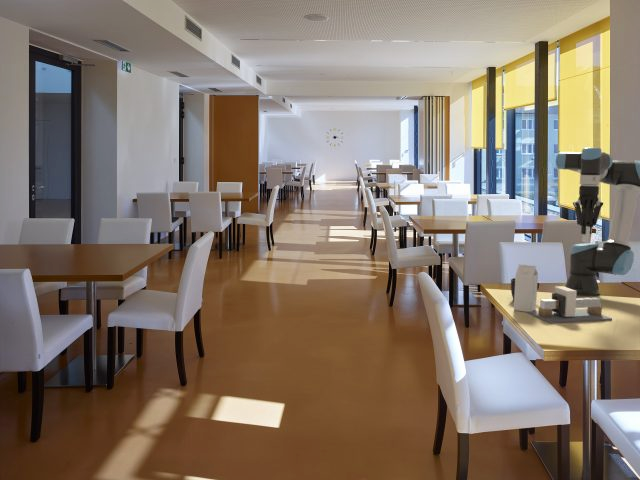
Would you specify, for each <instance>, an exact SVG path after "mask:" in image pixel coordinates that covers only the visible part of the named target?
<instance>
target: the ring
mask: <svg viewBox="0 0 640 480" xmlns="http://www.w3.org/2000/svg"><path fill="white" fill-rule="evenodd" d="M557 298H558V299H560V309H552V311H553V312H556V313H558V314H560V315H565V302H566V297H565V296H563V295H560V294H557V293H554V292H552V293H551V299H557Z"/></svg>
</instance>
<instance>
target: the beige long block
mask: <svg viewBox="0 0 640 480" xmlns="http://www.w3.org/2000/svg"><path fill="white" fill-rule="evenodd" d="M539 301H540V302H539V303H540V304H539V307H538V311H539V312H538V315H540V316H542V317H544V318H551V317H552V309H560V299H552V298H548V299H547V298H545V299H540V300H539ZM601 303H602V298H599V297H576V309H579V308H580V309H587V313H590V314H592V315H601V314H602V312H603V311H602V309H603V307H602V306H601Z"/></svg>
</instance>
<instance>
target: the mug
mask: <svg viewBox="0 0 640 480" xmlns="http://www.w3.org/2000/svg"><path fill="white" fill-rule="evenodd" d="M539 288H540V283H539V282H537V291H538V290H539ZM510 291H511V296H512V300H513V302H514V294H515V277H512V278H511V279H510Z"/></svg>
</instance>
